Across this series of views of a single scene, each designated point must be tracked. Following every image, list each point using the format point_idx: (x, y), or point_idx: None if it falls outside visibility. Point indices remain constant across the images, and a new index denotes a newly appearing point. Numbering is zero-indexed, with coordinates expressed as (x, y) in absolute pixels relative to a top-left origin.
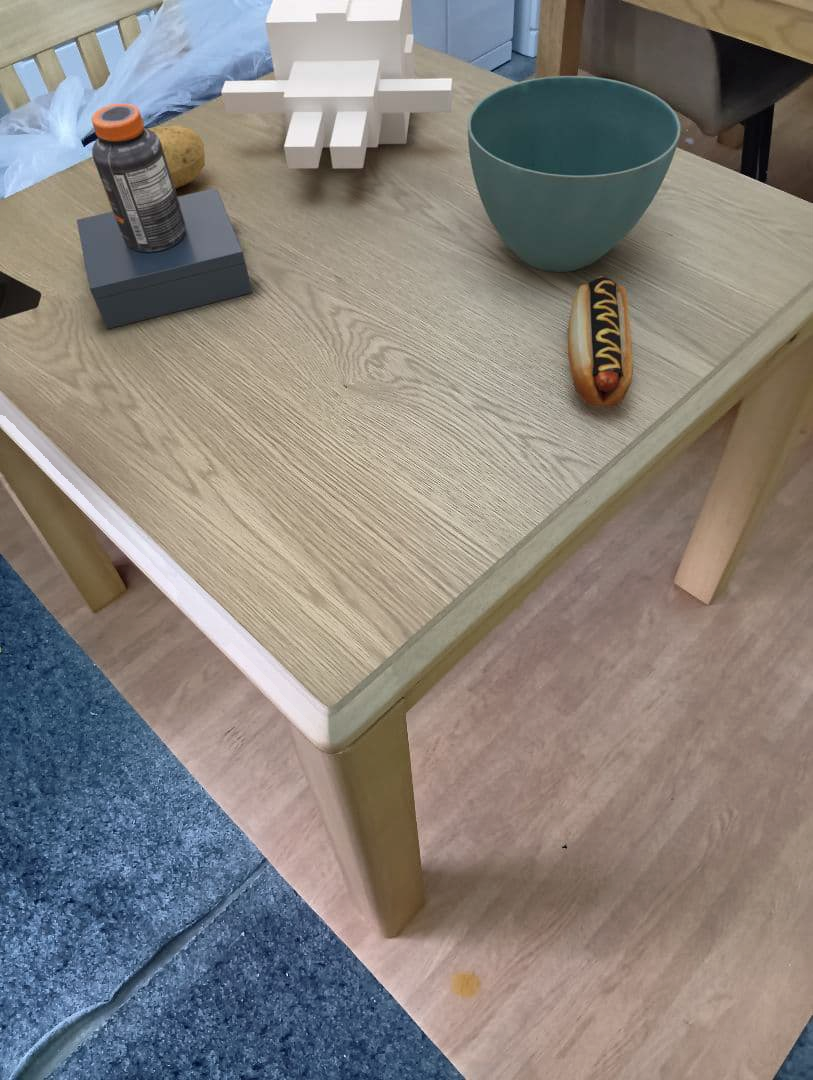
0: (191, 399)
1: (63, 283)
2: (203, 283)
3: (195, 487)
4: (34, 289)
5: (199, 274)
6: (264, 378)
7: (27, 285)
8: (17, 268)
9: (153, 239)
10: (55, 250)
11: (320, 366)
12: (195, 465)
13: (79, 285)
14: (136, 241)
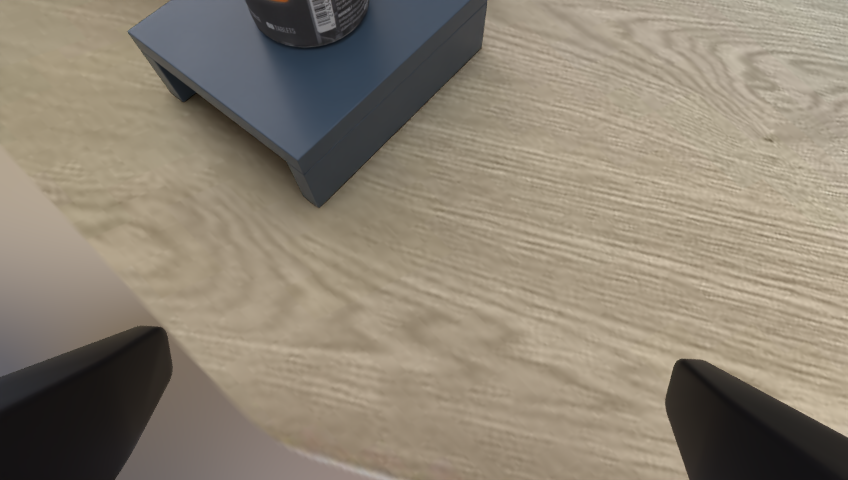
0: (586, 272)
1: (156, 155)
2: (438, 62)
3: None
4: (739, 380)
5: (437, 49)
6: (650, 180)
7: (789, 406)
8: (40, 162)
9: (346, 14)
10: (83, 101)
11: (701, 123)
12: None
13: (189, 147)
14: (315, 30)
